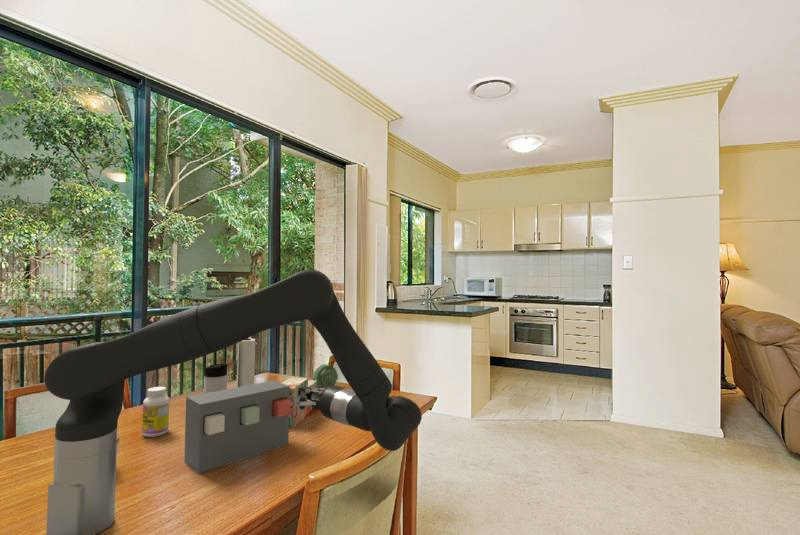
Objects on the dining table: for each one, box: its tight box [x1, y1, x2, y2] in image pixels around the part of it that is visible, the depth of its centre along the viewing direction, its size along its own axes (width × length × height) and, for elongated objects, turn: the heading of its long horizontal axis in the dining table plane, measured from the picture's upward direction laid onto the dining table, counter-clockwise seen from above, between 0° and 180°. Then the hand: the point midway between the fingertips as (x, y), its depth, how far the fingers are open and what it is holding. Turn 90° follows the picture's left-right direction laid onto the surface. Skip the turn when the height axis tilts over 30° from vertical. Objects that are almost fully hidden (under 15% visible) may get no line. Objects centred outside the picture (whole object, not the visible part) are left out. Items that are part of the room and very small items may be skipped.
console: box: [183, 380, 290, 474], centre depth 111 cm, size 24×8×16 cm, turn 137°
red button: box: [273, 398, 290, 417], centre depth 114 cm, size 4×3×4 cm
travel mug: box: [203, 363, 229, 394], centre depth 125 cm, size 6×7×20 cm
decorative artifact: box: [312, 363, 339, 389], centre depth 171 cm, size 10×7×10 cm
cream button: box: [204, 413, 225, 435], centre depth 101 cm, size 4×3×4 cm
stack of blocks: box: [281, 376, 318, 428], centre depth 141 cm, size 21×6×12 cm, turn 171°
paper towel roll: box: [236, 338, 256, 387], centre depth 162 cm, size 7×6×21 cm
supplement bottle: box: [141, 386, 170, 438], centre depth 123 cm, size 7×7×13 cm
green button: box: [240, 405, 260, 425], centre depth 107 cm, size 4×3×4 cm
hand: (300, 391), depth 108 cm, fingers closed
